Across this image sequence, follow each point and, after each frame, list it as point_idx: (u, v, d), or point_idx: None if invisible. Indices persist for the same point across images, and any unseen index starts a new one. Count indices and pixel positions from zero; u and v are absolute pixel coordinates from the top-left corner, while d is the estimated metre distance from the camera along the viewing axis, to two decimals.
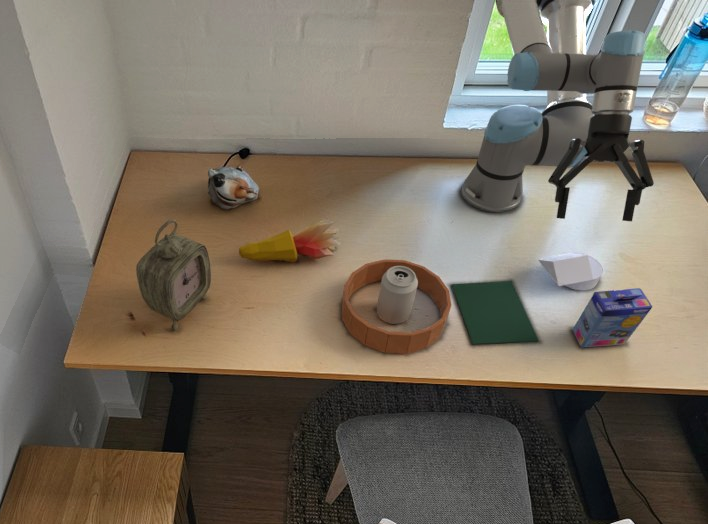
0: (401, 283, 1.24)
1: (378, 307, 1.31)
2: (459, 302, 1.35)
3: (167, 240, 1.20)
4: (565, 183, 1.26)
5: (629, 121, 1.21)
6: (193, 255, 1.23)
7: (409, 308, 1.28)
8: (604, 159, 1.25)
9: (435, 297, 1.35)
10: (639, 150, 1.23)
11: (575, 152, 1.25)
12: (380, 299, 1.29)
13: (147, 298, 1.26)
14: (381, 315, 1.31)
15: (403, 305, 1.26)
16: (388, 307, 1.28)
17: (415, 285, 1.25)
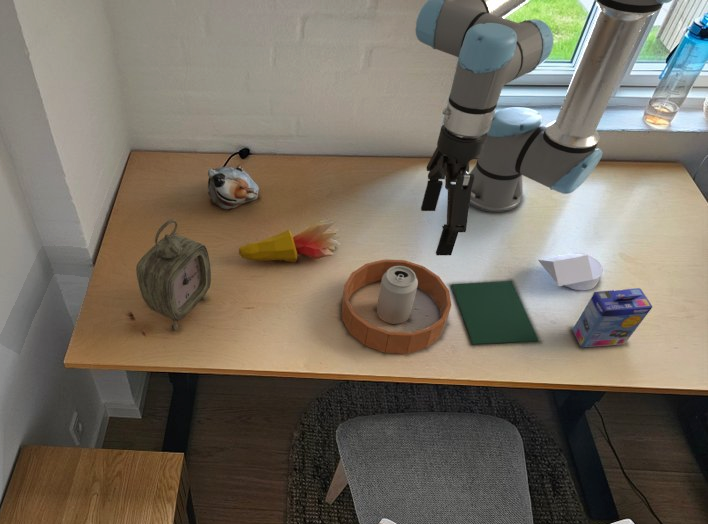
0: (401, 283, 1.24)
1: (378, 307, 1.31)
2: (459, 302, 1.35)
3: (167, 240, 1.20)
4: (429, 176, 1.14)
5: (449, 144, 0.98)
6: (193, 255, 1.23)
7: (409, 308, 1.28)
8: (445, 173, 1.06)
9: (435, 297, 1.35)
10: (456, 185, 1.00)
11: (438, 149, 1.09)
12: (380, 299, 1.29)
13: (147, 298, 1.26)
14: (381, 315, 1.31)
15: (403, 305, 1.26)
16: (388, 307, 1.28)
17: (415, 285, 1.25)
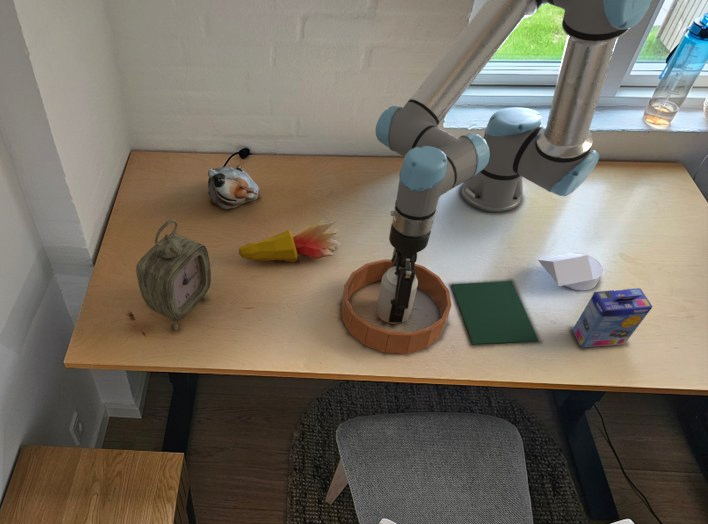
0: None
1: (378, 307, 1.31)
2: (459, 302, 1.35)
3: (167, 240, 1.20)
4: None
5: (396, 240, 1.15)
6: (193, 255, 1.23)
7: (409, 308, 1.28)
8: None
9: (435, 297, 1.35)
10: (400, 275, 1.17)
11: None
12: (380, 299, 1.29)
13: (147, 298, 1.26)
14: (381, 315, 1.31)
15: None
16: (388, 307, 1.28)
17: (415, 285, 1.25)
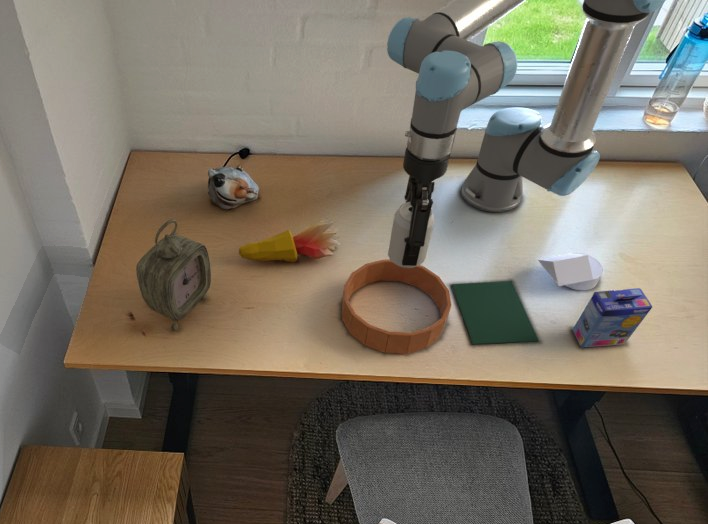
0: None
1: (390, 249, 1.19)
2: (459, 302, 1.35)
3: (167, 240, 1.20)
4: None
5: (411, 165, 1.02)
6: (193, 255, 1.23)
7: (424, 249, 1.16)
8: None
9: (435, 297, 1.35)
10: (416, 207, 1.05)
11: None
12: (392, 239, 1.17)
13: (147, 298, 1.26)
14: (393, 258, 1.18)
15: None
16: (401, 248, 1.15)
17: (431, 221, 1.12)
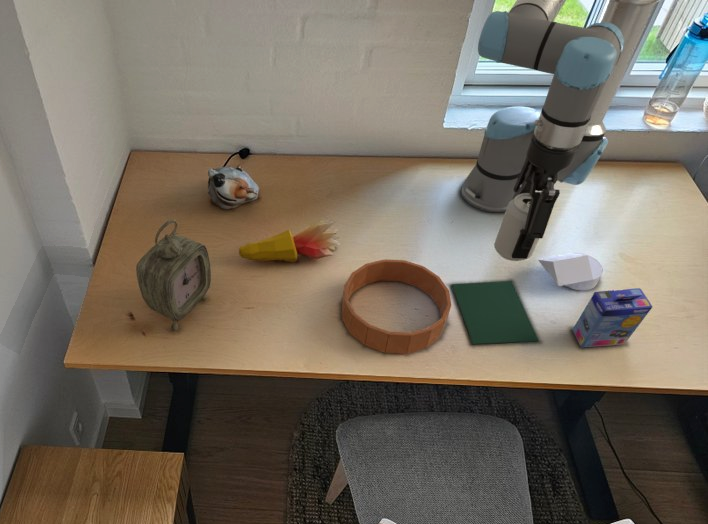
0: None
1: (498, 242, 1.17)
2: (459, 302, 1.35)
3: (167, 240, 1.20)
4: None
5: (538, 154, 1.00)
6: (193, 255, 1.23)
7: (536, 242, 1.14)
8: (532, 182, 1.08)
9: (435, 297, 1.35)
10: (540, 197, 1.03)
11: (526, 163, 1.11)
12: (503, 232, 1.15)
13: (147, 298, 1.26)
14: (502, 251, 1.17)
15: None
16: (513, 240, 1.14)
17: None
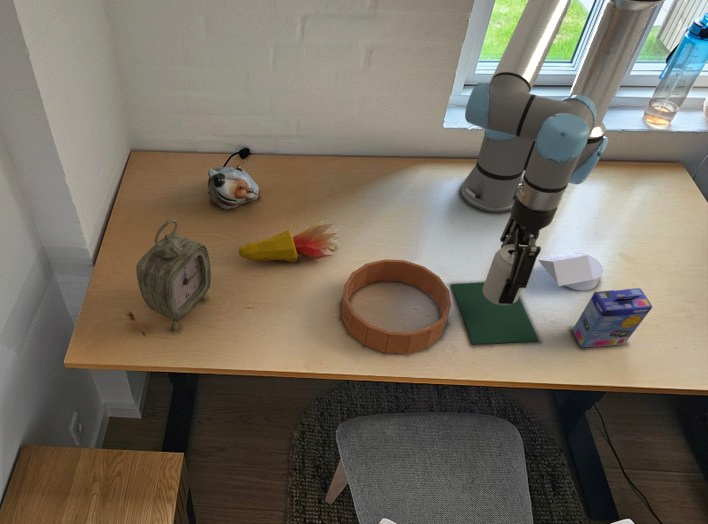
0: None
1: (486, 288, 1.27)
2: (459, 302, 1.35)
3: (167, 240, 1.20)
4: None
5: (521, 214, 1.10)
6: (193, 255, 1.23)
7: (521, 288, 1.24)
8: None
9: (435, 297, 1.35)
10: (523, 252, 1.13)
11: (511, 218, 1.20)
12: (490, 279, 1.24)
13: (147, 298, 1.26)
14: (490, 296, 1.26)
15: None
16: (500, 288, 1.23)
17: None
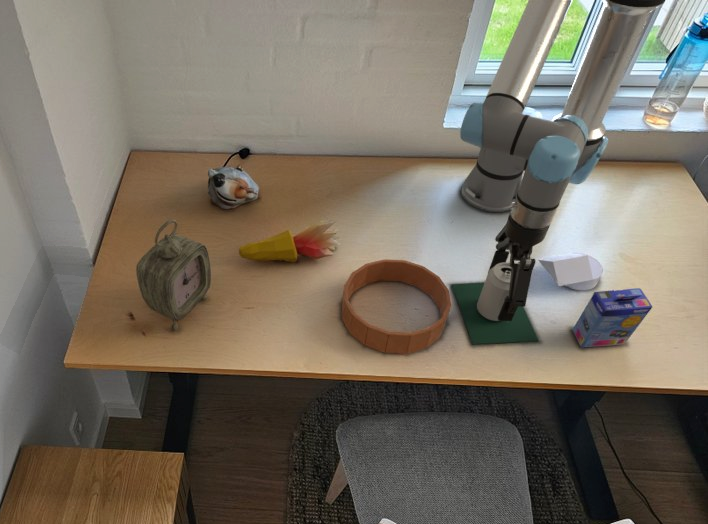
0: (509, 280, 1.23)
1: (480, 304, 1.30)
2: (459, 302, 1.35)
3: (167, 240, 1.20)
4: (497, 247, 1.29)
5: (515, 232, 1.13)
6: (193, 255, 1.23)
7: None
8: None
9: (435, 297, 1.35)
10: (518, 266, 1.15)
11: None
12: (484, 296, 1.28)
13: (147, 298, 1.26)
14: (484, 312, 1.30)
15: None
16: (493, 304, 1.27)
17: None
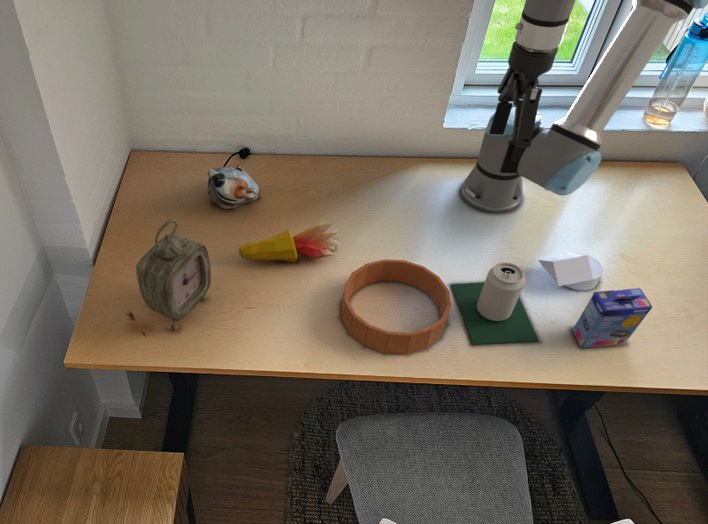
0: (509, 280, 1.23)
1: (480, 304, 1.30)
2: (459, 302, 1.35)
3: (167, 240, 1.20)
4: (499, 98, 1.19)
5: (519, 58, 1.03)
6: (193, 255, 1.23)
7: (514, 305, 1.28)
8: (514, 91, 1.11)
9: (435, 297, 1.35)
10: (523, 99, 1.05)
11: (509, 69, 1.13)
12: (484, 296, 1.28)
13: (147, 298, 1.26)
14: (484, 312, 1.30)
15: (509, 302, 1.25)
16: (493, 304, 1.27)
17: (523, 282, 1.24)
